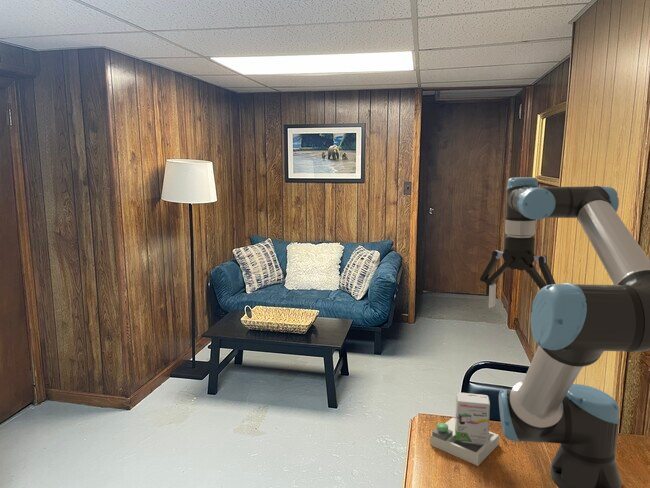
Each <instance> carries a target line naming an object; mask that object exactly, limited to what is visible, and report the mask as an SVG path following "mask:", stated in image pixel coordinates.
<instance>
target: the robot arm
mask: <svg viewBox="0 0 650 488" xmlns="http://www.w3.org/2000/svg"><path fill="white" fill-rule="evenodd" d="M506 186H507V187H506V189H505V192H506V204H505V205H506V206H505V207H506V208H505V222H504V223H505V224H504V225H505V226H504V234H505V236H504V242H503V243H504V246H503V249H504V250H503V251H501V250H500V249H495V250H493V251H492V252H491V253H492V254H491V258H490V261H488V264H487V265H486V267H485V269H484V270H483V272H482V274H481V276H480V277H479V281H480V282H483V283H485V284H486V285H485V286H486V290H485V294H486V296H488V308H489V309H492V308H494V307H495V306H496V296H497V293H496V292H497V283H495V281H496V280H498V278H499V277H500V276H502V274H504V273H505V272H506V271H507V270H508V269H510V270H517V271H526V273H527V274H528V275H529V277H530V278H531V279H532V280H533V281H534V283H535V284H536V286H537V287H538V288H539V289H540V290H539V291H538V292H537V293H536V295H535V297H534V299H533V302H532V306H531V309H532V312H530V330H531V334H532V337H533V340H534V341H535V343H536V344H537V345H538V346H537V349H536V351H535V353H534V356H533V358H532V360H531V363H530V364H529V367H528V370H527V371H526V373H525V376H524V379H523V380H520V381H519V382H517V383H516V384H514V385H513V387H512V388H511V390H509V389H503V390H500V391H499V393H498V407H499V408H498V409H499V418H500V425H501V430H502V433H503V436H504V437H505V439H507V440H509V441H515V442H518V443H521V442H527V443H528V442H530V443H548V444H560V445H559V447H558V449H557V451H556V453H555V454H554V457H553V459H552V461H551V463H550V464H551V465H550V477H551V479H552V481H553V482H554V483H555V484H556V485H557V486H558V487H559V488H622V480H621V475H620V473H619V469H618V466H617V465H618V464H617V462H616V453H617V452H616V451H617V441H618V433H619V432H618V431H619V423H620V406H619V404H618V402H617V400H616V399H615V398H613V397H612V396H611V395H610V394H608V393H607V392H605V391H603V390H601V389H598V388H595V387H593V386H590V385H585V384H581V383H579V384H578V383H574V382H575V381H576V379H577V378H578V375H579V374H580V373H581V371H582V369H583V368H584V367H589V366H591V365H594V363H596V362H597V361H598V360H599V359H600V358H601V356H602V354H603V353H604V352H626V353H627V352H628V353H629V352H630V353H639V352H640V353H643V352H648V351H650V259H649V258H648V256H647V254H646V253H645V251H644V250H643V249H642V247H641V245H640V244H639V243H638V241H637V239H635V237H634V236H633V234H632V232H630V230H629V228H628V227H627V225H625V223H624V222H623V220H622V218H621V217H620V216H619V214H618V213H617V212H618V210H619V204H620V199H619V197H618V195H619V194H618V192H617V190H616V189H615V188H614V187H611V186H600V185H593V186H539V180H538V178H537V177H533V176H532V177H527V176H525V177H524V176H522V177H520V176H519V177H518V176H516V177H510V178H508V180H507V185H506ZM556 218H557V219H559V218H560V219H561V218H562V219H577V221H578V223H579V224H580V227H582V230H583V231H584V233H585V235H586V237H587V239H588V240H589V242H590V243H591V246H592V248H593V249H594V252H595V254H597V257H598V259H599V260H600V262H601V264H602V266H603V267H604V270H606V273H607V275H608V276H609V278H610V280H611V282H612V283H613V284H578V283H577V284H575V283H571V282H563V283H556V280H555V279H554V276H553V274H552V272H551V270H550V268H549V265H548V258H547V255H545V254H544V255H535V242H536V238H535V236H534V235H535V234H536V225H537V223H536V221H538V220H544V219H556ZM501 258H503V260H504V263H503V264H502V265H501V266H500V267H499V268H498V269H497V270H495V272H494V273H493V274H492V271H494V270H493V269H494V268H495V266H496V265H497V263H498V261H499V260H501ZM534 262H536V264H537V265H538V266H539V269H540V272H541V273H542V276H543V277H542V276H541V275H540V273H538V271H537V270H536V266H535V265H534V264H533V263H534ZM491 274H492V275H491ZM489 276H490V277H489Z"/></svg>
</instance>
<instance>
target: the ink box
mask: <svg viewBox="0 0 650 488" xmlns="http://www.w3.org/2000/svg"><path fill="white" fill-rule="evenodd" d="M490 402H491V401H490V397H489V396H488V395H486V394H480V393H479V394H478V393H468V392H460V391H459V392H456V398H455V418H456V422H455V434H456V440H458V441H467V442H476V443H485V444H488V438H489V431H490V416H491V415H490V412H491V411H490V409H491V403H490Z"/></svg>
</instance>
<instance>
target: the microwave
mask: <svg viewBox="0 0 650 488" xmlns="http://www.w3.org/2000/svg"><path fill="white" fill-rule="evenodd" d="M455 422H456V417H451V418H450V419H449V420H448V421H446V422H445V424H447V425H448V431H447V432H444V433H441V432H440V431H438V430H437V427H436V428H435V429H434V430H432V432H431V434H430V442H429V443H430V446H432V447H435V448H437V449H439V450H441V451H443V452H445V453H448V454H450V455H452V456H455V457H457V458H459V459H462V460H463V461H465V462H468V463H471V464H473V465H475V466H477V467H478V466H479V465H480V464H482V462H483V461H484V460H486V458H487V457H488V456H489V455H490V454H491V453H492V452H493V451H494V450H495V449H496V448H497V447H498V446H499V440H500V439H499V437H500V435H499V434H498V433H495V432H492V431H490V430H489V438H488V444H485V443H476V442H467V441H458V440H456V434H455Z"/></svg>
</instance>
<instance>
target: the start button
mask: <svg viewBox="0 0 650 488" xmlns="http://www.w3.org/2000/svg"><path fill="white" fill-rule="evenodd" d="M445 423H446V422H445ZM445 423H444V422H439V423H437V425H436V428H437V430H438V431H440V432H441V433H444V432H447V431H448V425H447V424H445Z"/></svg>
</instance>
